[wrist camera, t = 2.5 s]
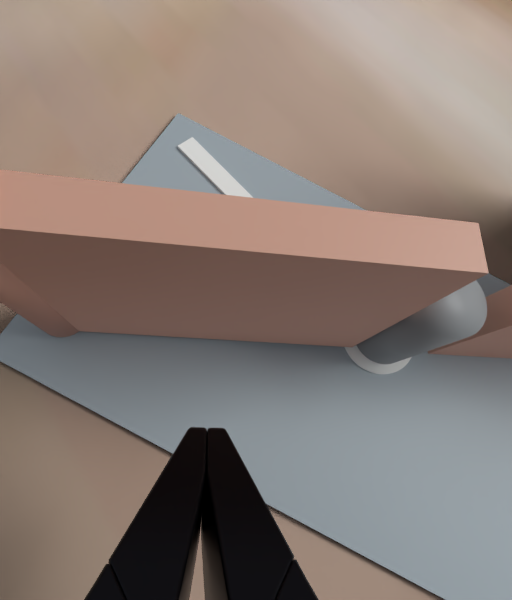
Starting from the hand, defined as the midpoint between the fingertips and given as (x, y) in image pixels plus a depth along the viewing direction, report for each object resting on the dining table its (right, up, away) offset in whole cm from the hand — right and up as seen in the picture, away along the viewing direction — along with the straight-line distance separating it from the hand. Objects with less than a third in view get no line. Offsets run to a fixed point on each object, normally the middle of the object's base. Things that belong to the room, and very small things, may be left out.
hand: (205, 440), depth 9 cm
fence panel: (0, +2, +8) cm, 8 cm away
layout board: (+5, +1, +9) cm, 10 cm away
